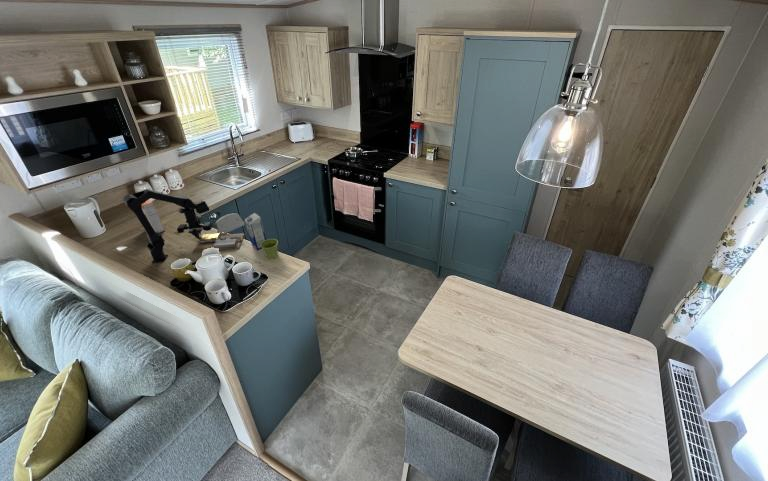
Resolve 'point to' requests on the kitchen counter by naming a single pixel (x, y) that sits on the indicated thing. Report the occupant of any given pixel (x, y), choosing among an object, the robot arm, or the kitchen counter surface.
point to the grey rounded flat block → (229, 223)
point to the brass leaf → (210, 236)
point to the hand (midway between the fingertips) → (199, 239)
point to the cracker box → (152, 216)
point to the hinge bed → (211, 244)
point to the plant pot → (270, 248)
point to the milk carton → (255, 230)
